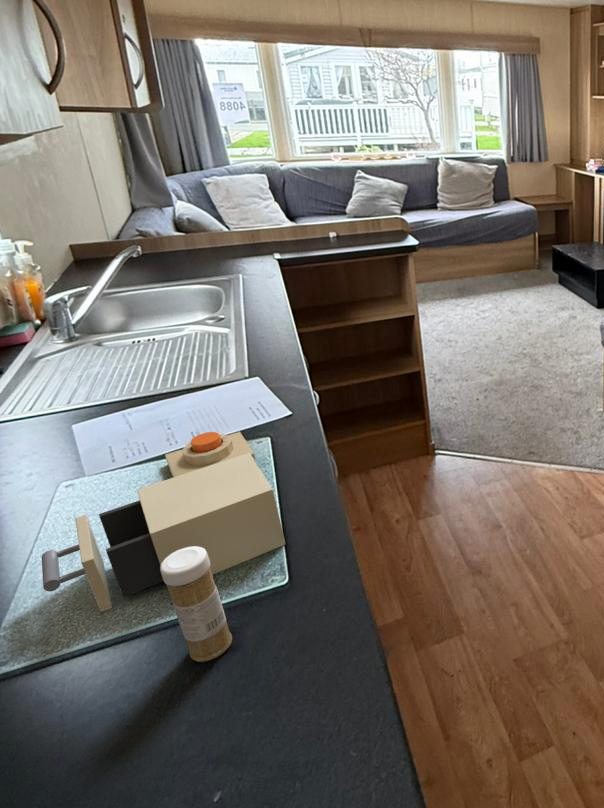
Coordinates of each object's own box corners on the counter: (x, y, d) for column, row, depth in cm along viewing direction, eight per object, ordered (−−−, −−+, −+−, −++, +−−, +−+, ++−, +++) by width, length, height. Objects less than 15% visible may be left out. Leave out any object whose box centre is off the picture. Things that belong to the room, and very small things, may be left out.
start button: (195, 456, 110) (193, 447, 109) (190, 446, 113) (188, 437, 112) (224, 447, 112) (222, 438, 112) (218, 437, 116) (216, 429, 115)
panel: (178, 490, 107) (172, 470, 105) (168, 465, 114) (162, 445, 113) (256, 464, 114) (251, 444, 113) (242, 441, 121) (237, 422, 120)
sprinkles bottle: (221, 626, 80) (194, 539, 75) (240, 644, 78) (214, 554, 73) (182, 652, 77) (151, 561, 72) (200, 670, 74) (170, 578, 69)
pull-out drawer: (57, 630, 79) (35, 579, 76) (53, 578, 87) (33, 531, 84) (219, 563, 89) (206, 516, 87) (202, 523, 98) (190, 479, 95)
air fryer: (169, 592, 86) (150, 533, 82) (154, 544, 95) (136, 489, 91) (285, 544, 94) (272, 489, 91) (262, 504, 103) (249, 452, 100)
